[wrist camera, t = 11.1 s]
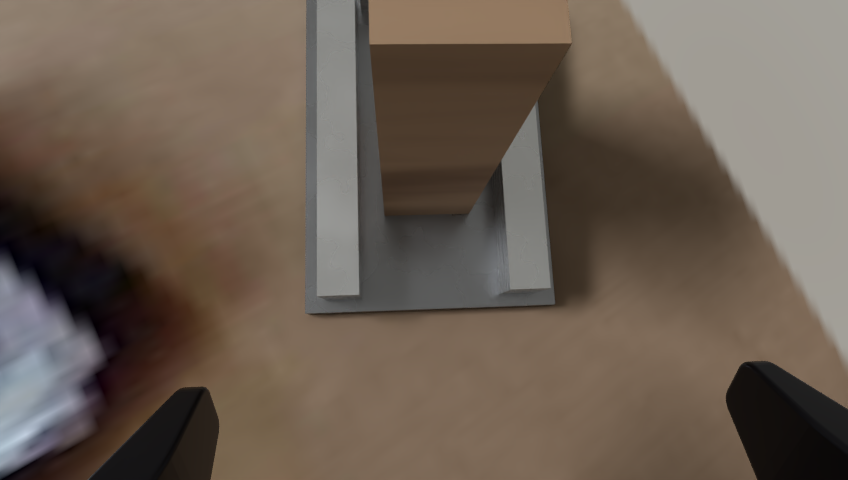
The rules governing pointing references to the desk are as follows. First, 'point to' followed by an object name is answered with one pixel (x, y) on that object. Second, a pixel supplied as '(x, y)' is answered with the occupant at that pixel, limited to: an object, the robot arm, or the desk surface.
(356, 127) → the open-ended gray metal tray
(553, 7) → the tan block
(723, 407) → the desk surface
